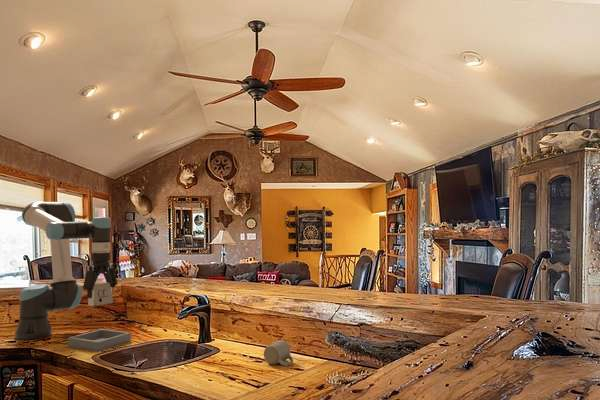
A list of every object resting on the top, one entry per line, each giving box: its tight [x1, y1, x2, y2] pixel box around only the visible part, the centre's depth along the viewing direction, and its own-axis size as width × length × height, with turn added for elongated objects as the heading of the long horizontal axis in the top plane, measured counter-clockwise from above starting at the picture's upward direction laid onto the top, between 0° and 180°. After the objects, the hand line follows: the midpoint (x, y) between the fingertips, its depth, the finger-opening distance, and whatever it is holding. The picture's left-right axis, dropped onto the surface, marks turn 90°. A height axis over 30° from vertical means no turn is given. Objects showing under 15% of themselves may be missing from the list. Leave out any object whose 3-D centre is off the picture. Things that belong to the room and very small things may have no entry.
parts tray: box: [67, 328, 132, 353], centre depth 205 cm, size 18×18×4 cm
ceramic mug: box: [263, 339, 294, 367], centre depth 177 cm, size 11×8×8 cm
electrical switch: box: [93, 282, 114, 307], centre depth 207 cm, size 9×5×9 cm, turn 152°
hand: (100, 303), depth 206 cm, fingers closed on electrical switch, 9 cm apart
